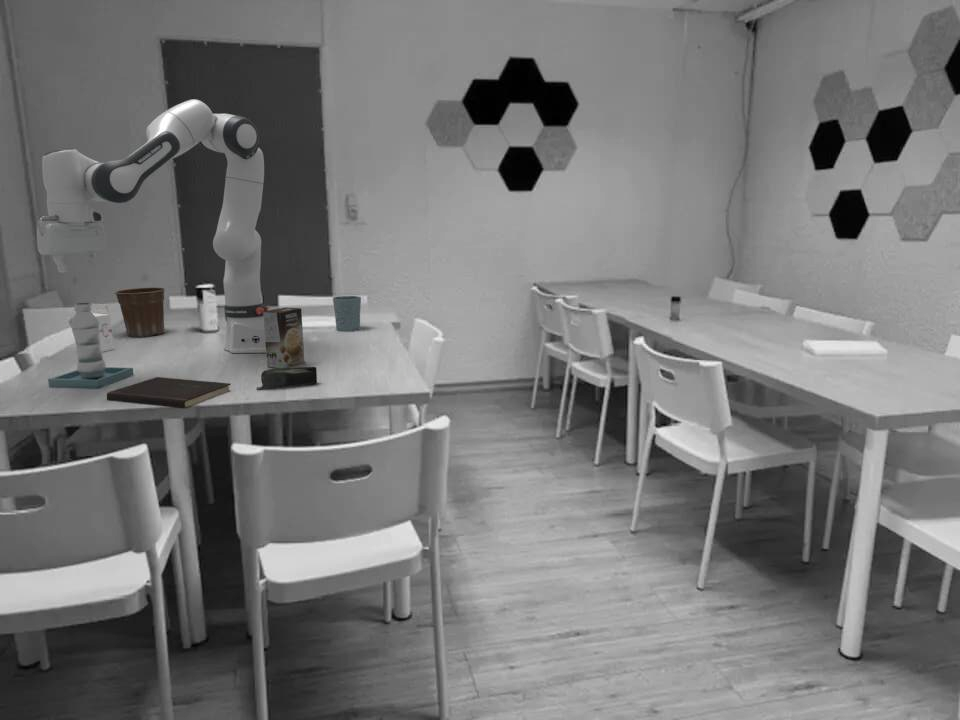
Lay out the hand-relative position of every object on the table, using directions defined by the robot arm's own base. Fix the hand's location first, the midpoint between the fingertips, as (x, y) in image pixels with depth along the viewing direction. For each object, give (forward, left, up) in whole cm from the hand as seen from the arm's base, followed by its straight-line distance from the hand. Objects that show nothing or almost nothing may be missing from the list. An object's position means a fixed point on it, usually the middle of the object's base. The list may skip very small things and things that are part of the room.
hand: (77, 270), depth 174 cm
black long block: (-55, 0, -30) cm, 62 cm away
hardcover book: (-29, +11, -30) cm, 43 cm away
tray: (0, 0, -29) cm, 29 cm away
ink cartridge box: (+26, -37, -29) cm, 54 cm away
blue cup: (-43, -80, -29) cm, 95 cm away
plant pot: (+28, -64, -29) cm, 76 cm away
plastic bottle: (0, 0, -29) cm, 29 cm away
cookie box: (-44, -23, -29) cm, 58 cm away
